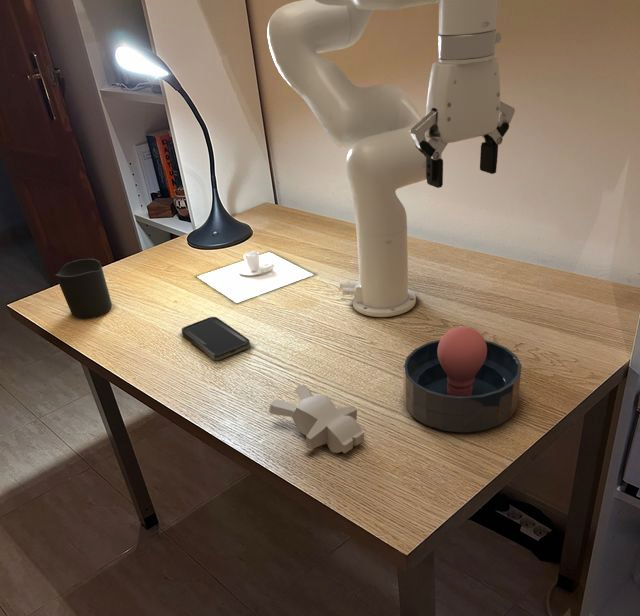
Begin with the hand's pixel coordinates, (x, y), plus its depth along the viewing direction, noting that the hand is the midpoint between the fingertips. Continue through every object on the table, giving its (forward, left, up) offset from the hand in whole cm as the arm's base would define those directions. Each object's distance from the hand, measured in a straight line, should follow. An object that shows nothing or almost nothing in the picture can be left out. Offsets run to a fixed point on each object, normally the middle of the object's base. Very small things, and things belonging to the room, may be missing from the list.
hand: (461, 178), depth 95 cm
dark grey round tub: (+3, -18, -28) cm, 34 cm away
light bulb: (+3, -18, -28) cm, 33 cm away
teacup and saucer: (-49, +25, -28) cm, 62 cm away
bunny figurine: (-16, -29, -28) cm, 44 cm away
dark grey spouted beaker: (-79, +4, -28) cm, 84 cm away
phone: (-45, -5, -28) cm, 53 cm away
